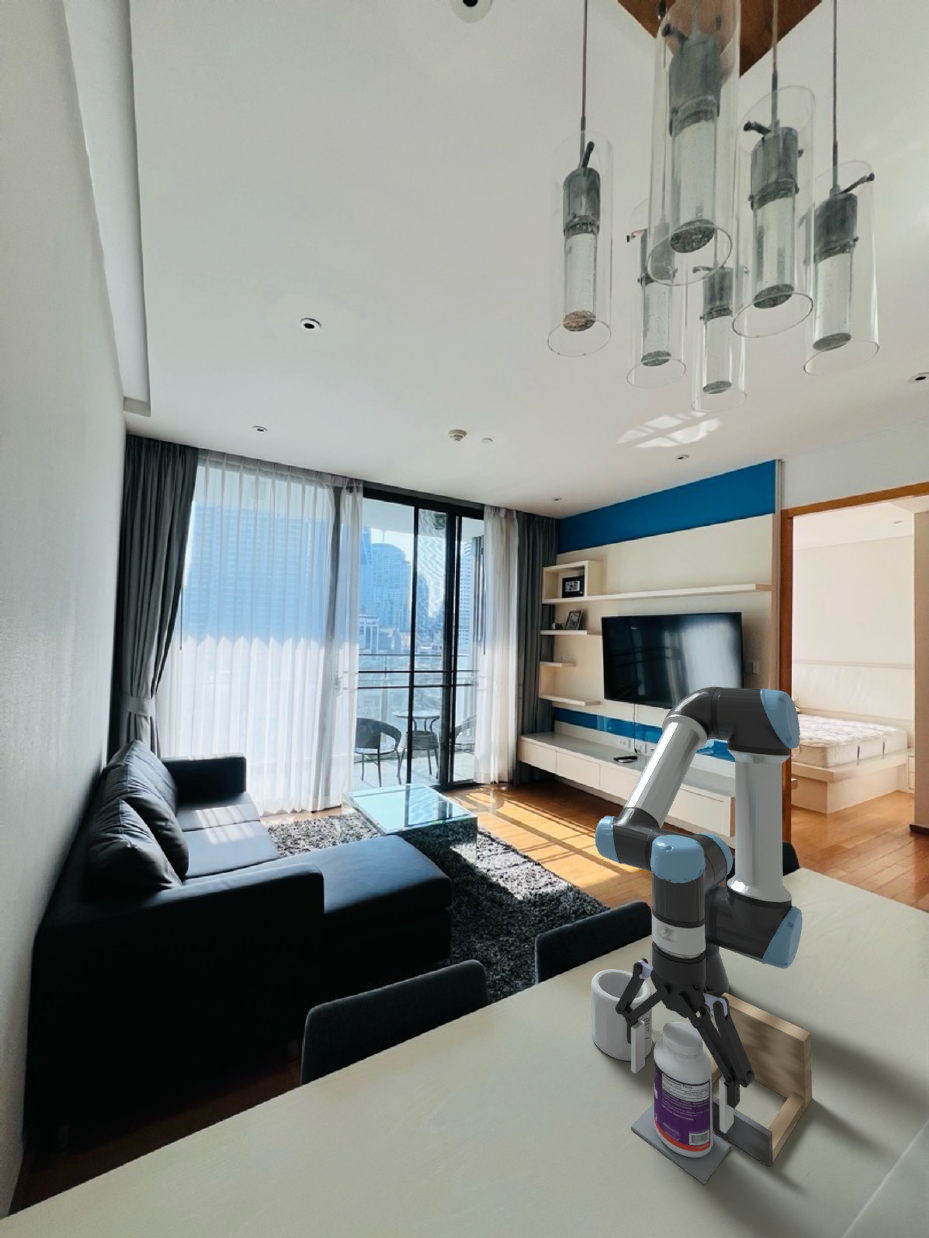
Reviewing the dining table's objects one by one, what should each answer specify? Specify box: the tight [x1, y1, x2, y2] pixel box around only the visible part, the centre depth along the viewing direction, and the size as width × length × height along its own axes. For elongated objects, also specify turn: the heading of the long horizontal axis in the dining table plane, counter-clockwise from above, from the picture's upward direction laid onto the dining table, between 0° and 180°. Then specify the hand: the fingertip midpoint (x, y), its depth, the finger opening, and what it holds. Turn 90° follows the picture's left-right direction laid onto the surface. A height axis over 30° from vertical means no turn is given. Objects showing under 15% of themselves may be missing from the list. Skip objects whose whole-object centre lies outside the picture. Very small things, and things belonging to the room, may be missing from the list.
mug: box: [590, 968, 653, 1062], centre depth 100 cm, size 14×11×10 cm
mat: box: [630, 1102, 732, 1185], centre depth 78 cm, size 11×8×1 cm
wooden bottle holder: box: [709, 993, 813, 1168], centre depth 86 cm, size 14×18×10 cm
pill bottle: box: [653, 1021, 714, 1158], centre depth 79 cm, size 8×8×14 cm
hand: (679, 1095), depth 79 cm, fingers open, 13 cm apart
